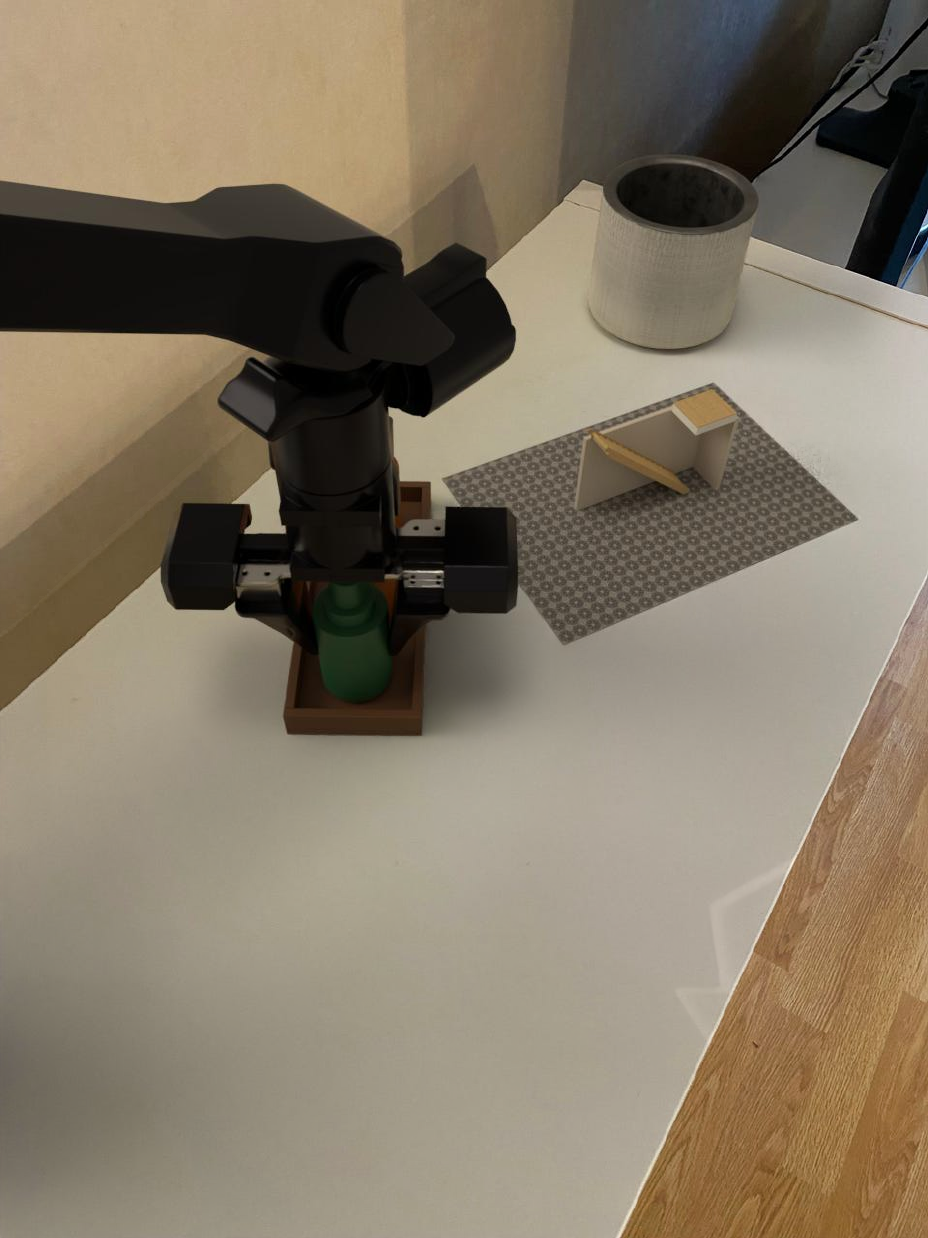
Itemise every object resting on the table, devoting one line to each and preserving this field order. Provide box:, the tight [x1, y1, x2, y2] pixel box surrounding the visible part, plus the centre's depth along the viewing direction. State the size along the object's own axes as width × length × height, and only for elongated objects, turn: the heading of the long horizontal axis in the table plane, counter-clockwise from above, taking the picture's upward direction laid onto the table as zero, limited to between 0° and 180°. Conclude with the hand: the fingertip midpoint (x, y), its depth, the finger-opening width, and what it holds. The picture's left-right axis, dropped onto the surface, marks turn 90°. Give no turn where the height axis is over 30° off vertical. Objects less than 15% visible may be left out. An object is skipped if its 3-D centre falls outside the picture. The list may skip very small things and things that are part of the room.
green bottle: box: [312, 582, 393, 703], centre depth 60 cm, size 4×4×10 cm
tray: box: [282, 480, 432, 737], centre depth 67 cm, size 20×8×2 cm, turn 0°
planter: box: [587, 154, 760, 350], centre depth 85 cm, size 13×13×11 cm
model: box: [573, 388, 740, 511], centre depth 72 cm, size 3×11×8 cm, turn 118°
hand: (355, 649), depth 62 cm, fingers closed on green bottle, 4 cm apart
